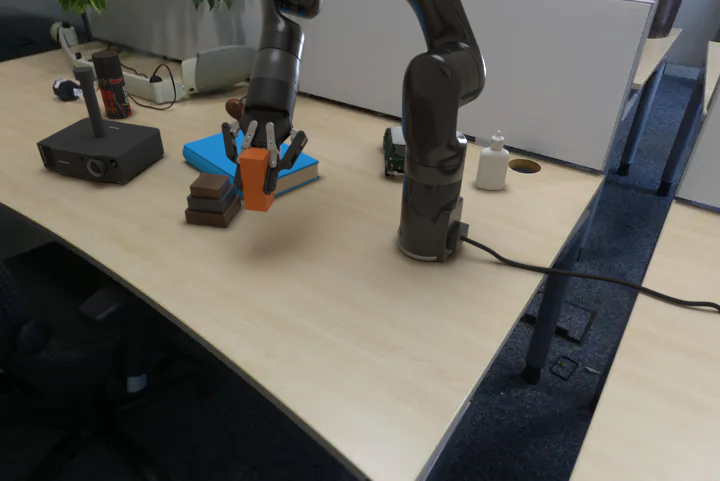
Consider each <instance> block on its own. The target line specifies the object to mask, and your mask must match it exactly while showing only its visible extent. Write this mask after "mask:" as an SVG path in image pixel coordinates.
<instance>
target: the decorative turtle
mask: <svg viewBox="0 0 720 481" xmlns="http://www.w3.org/2000/svg"><path fill="white" fill-rule="evenodd" d="M246 97H247V94H245V95H244V96H242V97H241V98H236V97H231V98H229V99H227V100H226V102H225V104H224V108H225V111H226V112H227V115H229V116H230V117H231V118H232V119H234V120H236V122H239V120H240V118H241V117H242V116H243V114H244V107H245V102H246Z"/></svg>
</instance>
